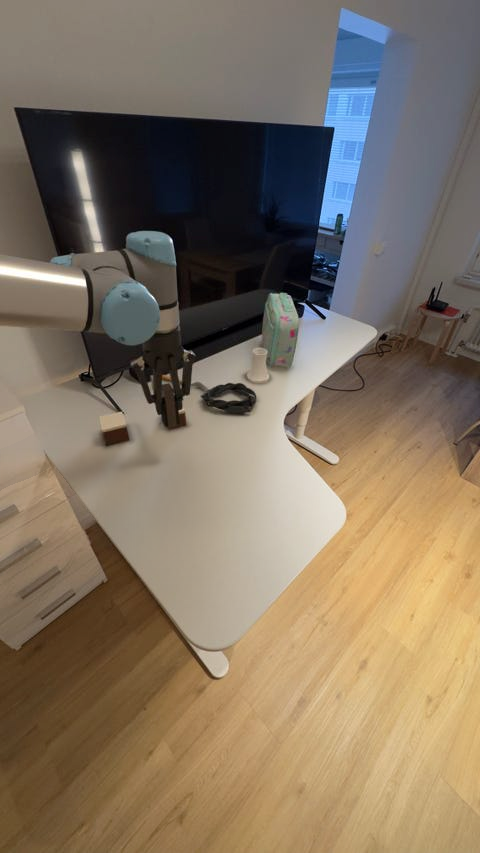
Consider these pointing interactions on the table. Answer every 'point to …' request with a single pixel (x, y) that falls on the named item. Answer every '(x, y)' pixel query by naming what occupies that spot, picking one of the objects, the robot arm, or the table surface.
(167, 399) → the long brown beam
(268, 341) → the lunch box
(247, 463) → the table surface
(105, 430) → the cake
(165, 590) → the table surface
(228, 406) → the cable
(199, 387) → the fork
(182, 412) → the cake slice
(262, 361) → the vase
